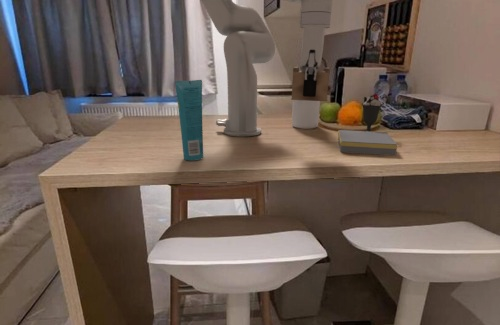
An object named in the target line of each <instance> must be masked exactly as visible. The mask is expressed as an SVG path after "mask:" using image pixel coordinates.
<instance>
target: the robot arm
mask: <svg viewBox="0 0 500 325" xmlns="http://www.w3.org/2000/svg"><path fill="white" fill-rule="evenodd" d="M283 1H286V2H290V3H295V4H299V3H300V12H299V13H300V14H299V27H298V28H300V29H303V30H302V39H301V40H302V41H301V51H300V53H301V54H300V63H299V69H301V70H302V69H303V68H302V66H305V65H306V71H305V80H304V86H303V96H305V97H315V96H316V85H317V81H316V72H317V69H318V70H319V69H320V68H321V64H322V58H323V52H324V45H325V44H324V42H325V33H326V32H325V31H326V29H330V28H331V22H332V21H331V20H332V11H333V10H332V9H333V0H283ZM200 2H201V3H202V4H203V6H204V9H205V10H206V12H207V14H208V16H209V18H210V20H211V21H212V23H213V25H214V27H215V29H216V31H217V32H218V33H219V34H220V35H222V36H224V37H225V38H224V41H223V54H224V58H225V59H224V60H225V64H226V76H227V77H226V78H227V80H226V81H227V118H225V119H218V118H217V119H216V121H215V125H216V126H217V127H224V128H223V134H225V135H227V136H231V137H237V138H239V137H240V138H241V137H243V138H244V137H245V138H246V137H253V136H258V135H260V134H262V128H261V127H258V122H257V121H258V75H257V73H256V72H257V71H256V69H255V67H254V64H257V65H258V64H265V63H266V64H267V63H269V62H270V61H272V59H273V58H274V56H275V53H276V44H275V40H274V38H273V36H272V34H271V32H270V31H269V29H268V27H267V25H266V24H265V21H264V20H263V18H262V17H261V15H260V14H259V13H258V11H257V10H256V9H254V8H252V7H250V6H247V5H242V4H241V5H240V4H236V3H235V2H233V0H200ZM314 57H315V59H314ZM317 62H318V64H317ZM315 64H316V67H314V66H315ZM307 66H308V67H307Z"/></svg>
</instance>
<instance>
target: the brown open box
mask: <svg viewBox="0 0 500 325" xmlns="http://www.w3.org/2000/svg"><path fill="white" fill-rule="evenodd" d="M330 70H331V68H330V67H325V68H324V70H323V71H321V70H319V71H318V72H316V81H317V85H316V96H315V97H305V96H303V86H304V80H305V72H301V70H300V66H294V67H293V68H292V83H291V84H292V86H291V87H292V88H291V101H293V100H307V101H320V102H327V101H328V94H329V81H330V72H331V71H330Z"/></svg>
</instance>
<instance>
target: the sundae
mask: <svg viewBox="0 0 500 325" xmlns="http://www.w3.org/2000/svg"><path fill="white" fill-rule="evenodd" d="M380 91H381V89H379V88H378V90H377V91H376V92H375V93H373V94H371V95H369V96H368V97H367V96H364V97H363V102H362V103H361V106H362V117H363V118H362V119H363V122H364V123H365V124H366V125H367V126H366V130H365V131H369V132H372V130H371V128H372V125H373V124H375V123H376V122H377V119H378V117H379V115H380V109H381V108H382V107H383V106H384V104H383V103H381V101H380V99H379V95H378V93H379V92H380Z"/></svg>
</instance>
